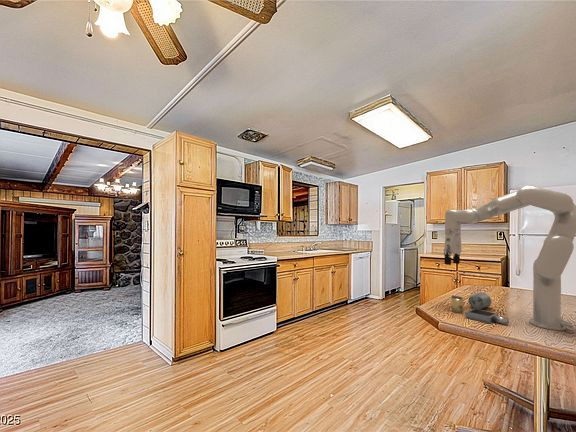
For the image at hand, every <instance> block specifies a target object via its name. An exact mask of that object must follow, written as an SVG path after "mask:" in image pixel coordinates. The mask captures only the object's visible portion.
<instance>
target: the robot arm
mask: <svg viewBox="0 0 576 432" xmlns="http://www.w3.org/2000/svg"><path fill="white" fill-rule="evenodd" d="M529 206H533V207H535V208H539V209H543V210H547V211H549V212H551V213H552V214H553V215H554V219H553V220H554V221H553V223H552V225H551V228H550V230H549V232H548V233H547V236H546V237H545V238H544V240H543V244H542V247H541V249H540V251H539V253H538V256H537V257H536V259H535V260H534V261H533V266H532V272H533V273H532V274H533V275H532V276H533V277H532V278H533V280H532V281H533V284H532V291H533V292H532V318H529V319H528V323H529V325H530V324H531V325H532V326H535V327H538V328H541V329H542V328H543V329H546V330H553V331H564V330H566V327H568V328H572V329H575V323H574V322H571V321H565V319H564V318H563V317H562V315H561V314H562V313H561V312H562V308H561V307H562V301H561V300H562V275H563V272H564V270H566V266H567V265H568V263H569V261H570V259H571V255H572V253H573V251H574V248H575V247H574V242H573V241H574V239H575V237H576V203H574V200H573V198H572V196H570V195H568V194H567V193H563V192H559V191H555V190H551V189H548V188H547V189H546V188H541V187H539V186H538V187H537V186H533V185H525V186H522V187H520V188H519V189H518V190H514V191H512V192H510V193H507V194H504V195H500V196H499V197H496V198H493V199H492V200H491V201H489V202H487V203H486V204H483V205H480V206H479V207H475V208H473V209H470V208H469V209H460V210H459V209H447V210H446V211H445V214H444V215H445V216H444V218H445V219H444V220H445V221H444V235H445V236H444V237H445V238H444V247H443V254H444V255H443V257H444V265H447V266H450V265H452V263H453V264H458V265H460V263H461V262H460V260H461V258H460V257H461V253H462V237H461V236H462V224H468V225H470V224H471V225H474V224H476V223H479V222H483V221H486V220H488V219H489V220H490V219H491V218H494V217H498V216H501V215H502V216H503V215H504V214H507V213H511V212H513V211H518V210H519V209H522V208H526V207H529ZM452 254H453V257H452Z"/></svg>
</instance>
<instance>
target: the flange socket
mask: <svg viewBox="0 0 576 432" xmlns="http://www.w3.org/2000/svg"><path fill="white" fill-rule="evenodd" d="M465 319H468V320H472V321H477V322H481V323H483V324H484V323H485V324H488V325H491V324H493V323H497V324H501V325H504V326H509V324H510V319H509V317H506V316H500V315H499V313H497V312H492V311H487V310H483V309H480V310H479V309H475V308H471V309H469V310H467V311H465Z"/></svg>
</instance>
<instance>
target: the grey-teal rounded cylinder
mask: <svg viewBox="0 0 576 432" xmlns="http://www.w3.org/2000/svg"><path fill="white" fill-rule="evenodd" d="M467 301H468V304H469V306H471V308H472V309H474V308H475V309H479V310H483V309H485V308H488V307H491V305H492V299H491V296H489V295H488V294H487V293H485V292H476V293H474V294H471V295H469V296H468V300H467Z"/></svg>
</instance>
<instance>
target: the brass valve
mask: <svg viewBox="0 0 576 432" xmlns="http://www.w3.org/2000/svg"><path fill="white" fill-rule="evenodd" d="M450 299H451V302H450V303H451V304H450V309H451V311H450V312H452V313H454V314H461V315H462V314H464V298H463V297H462V296H458V295H454V294H453V295H451V298H450Z"/></svg>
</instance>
